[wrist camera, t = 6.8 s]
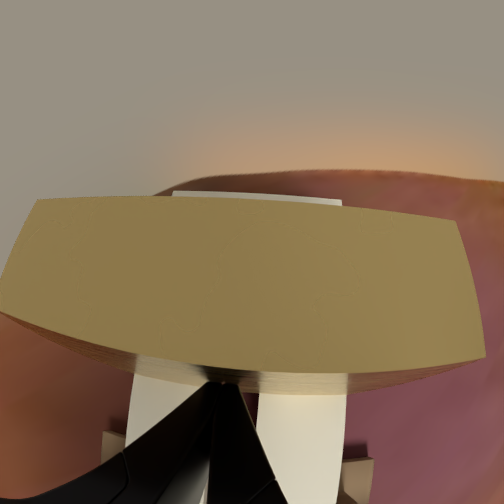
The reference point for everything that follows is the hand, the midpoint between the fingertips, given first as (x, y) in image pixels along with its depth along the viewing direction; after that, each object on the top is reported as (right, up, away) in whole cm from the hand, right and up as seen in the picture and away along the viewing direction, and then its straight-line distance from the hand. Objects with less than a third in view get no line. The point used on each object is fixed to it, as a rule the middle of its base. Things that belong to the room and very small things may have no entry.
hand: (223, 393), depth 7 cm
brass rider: (0, +1, +7) cm, 7 cm away
